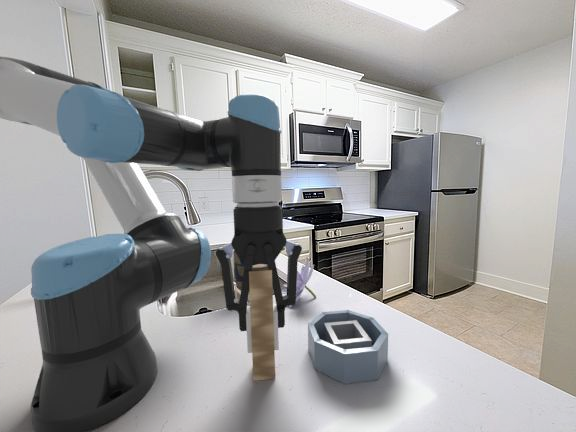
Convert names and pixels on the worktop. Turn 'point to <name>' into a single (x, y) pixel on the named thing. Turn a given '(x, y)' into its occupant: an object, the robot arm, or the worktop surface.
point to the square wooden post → (262, 322)
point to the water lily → (302, 281)
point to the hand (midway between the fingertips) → (263, 345)
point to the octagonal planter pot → (348, 346)
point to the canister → (239, 270)
